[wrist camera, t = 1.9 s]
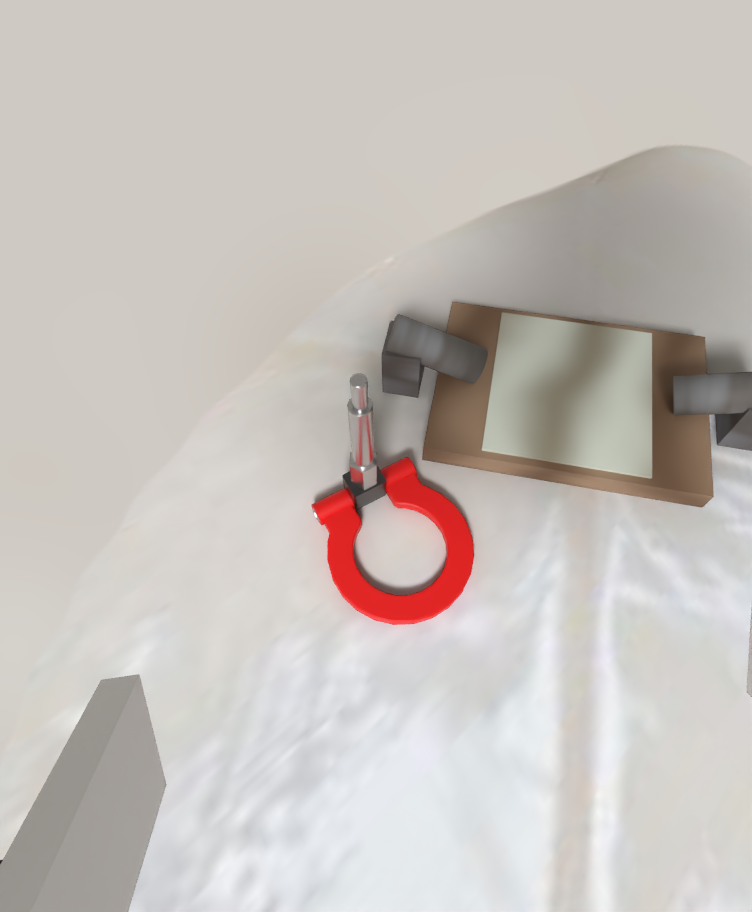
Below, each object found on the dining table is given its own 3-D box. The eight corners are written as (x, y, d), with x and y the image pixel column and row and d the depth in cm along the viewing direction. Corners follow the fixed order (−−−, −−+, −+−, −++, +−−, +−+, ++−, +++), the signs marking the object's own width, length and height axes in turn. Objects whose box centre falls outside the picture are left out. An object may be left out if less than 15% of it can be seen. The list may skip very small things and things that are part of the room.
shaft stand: (749, 358, 43) (796, 300, 38) (764, 517, 37) (821, 474, 32) (402, 309, 46) (403, 249, 41) (367, 450, 40) (363, 400, 35)
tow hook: (499, 581, 36) (417, 455, 40) (554, 494, 25) (432, 328, 28) (371, 654, 34) (298, 516, 38) (366, 597, 23) (262, 406, 26)
